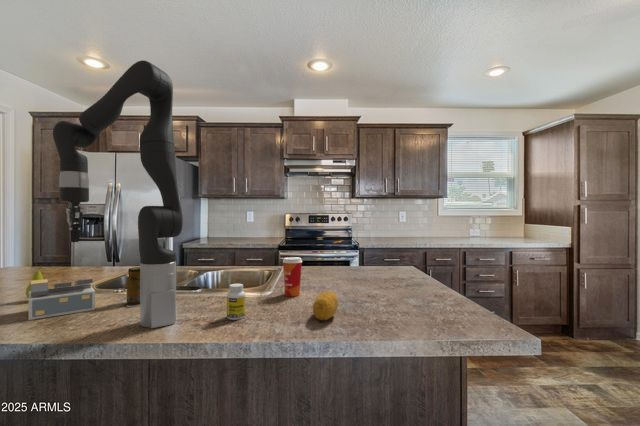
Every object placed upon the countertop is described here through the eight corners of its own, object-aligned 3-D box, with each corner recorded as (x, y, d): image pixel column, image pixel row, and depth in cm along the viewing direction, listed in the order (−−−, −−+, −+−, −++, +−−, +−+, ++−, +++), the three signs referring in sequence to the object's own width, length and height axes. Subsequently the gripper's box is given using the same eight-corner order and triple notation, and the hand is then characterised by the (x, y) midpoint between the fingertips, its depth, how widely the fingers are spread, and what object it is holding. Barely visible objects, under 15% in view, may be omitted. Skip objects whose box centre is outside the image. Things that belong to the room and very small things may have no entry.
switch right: (92, 282, 107) (92, 278, 107) (77, 284, 104) (77, 280, 104) (88, 284, 114) (88, 280, 114) (74, 285, 111) (74, 281, 112)
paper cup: (280, 292, 129) (280, 257, 129) (299, 291, 132) (299, 256, 131) (284, 298, 122) (284, 260, 122) (304, 296, 124) (304, 259, 124)
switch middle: (71, 286, 103) (71, 281, 103) (54, 288, 100) (54, 283, 100) (68, 285, 110) (68, 281, 111) (53, 287, 108) (53, 283, 108)
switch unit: (95, 310, 106) (95, 287, 106) (28, 320, 95) (28, 295, 95) (90, 301, 115) (90, 281, 115) (28, 310, 105) (28, 287, 105)
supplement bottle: (226, 321, 96) (226, 287, 96) (226, 315, 101) (226, 283, 101) (245, 319, 97) (245, 286, 97) (244, 314, 103) (245, 282, 103)
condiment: (145, 298, 120) (145, 265, 120) (151, 304, 113) (151, 269, 113) (122, 302, 115) (122, 267, 115) (126, 308, 108) (127, 271, 108)
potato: (341, 311, 107) (341, 289, 106) (333, 326, 92) (333, 300, 92) (319, 309, 108) (319, 287, 108) (308, 324, 94) (308, 299, 94)
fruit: (25, 303, 112) (25, 268, 112) (26, 300, 117) (26, 266, 117) (47, 300, 116) (47, 266, 116) (47, 297, 121) (47, 264, 121)
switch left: (48, 294, 99) (48, 290, 99) (30, 296, 97) (30, 292, 97) (47, 282, 107) (47, 278, 107) (30, 284, 104) (30, 280, 104)
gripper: (92, 185, 102) (92, 242, 102) (85, 189, 111) (85, 240, 111) (61, 184, 97) (62, 243, 96) (57, 187, 106) (57, 241, 106)
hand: (74, 241), depth 104 cm, fingers closed
